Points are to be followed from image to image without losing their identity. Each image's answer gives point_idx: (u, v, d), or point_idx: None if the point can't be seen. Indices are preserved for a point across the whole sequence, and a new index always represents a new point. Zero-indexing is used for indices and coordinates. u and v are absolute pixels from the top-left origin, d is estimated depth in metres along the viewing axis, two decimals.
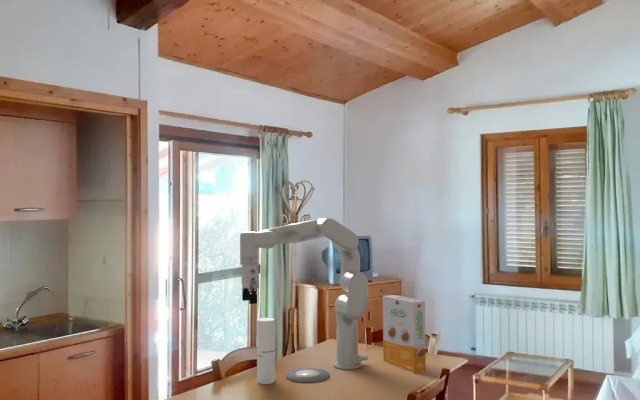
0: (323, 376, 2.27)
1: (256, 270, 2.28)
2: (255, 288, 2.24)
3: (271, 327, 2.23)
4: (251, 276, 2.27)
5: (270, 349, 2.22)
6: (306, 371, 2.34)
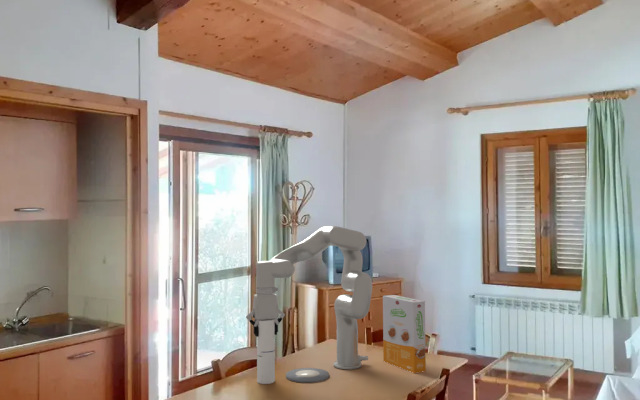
0: (323, 376, 2.27)
1: None
2: None
3: (271, 327, 2.23)
4: None
5: (270, 349, 2.22)
6: (306, 371, 2.34)
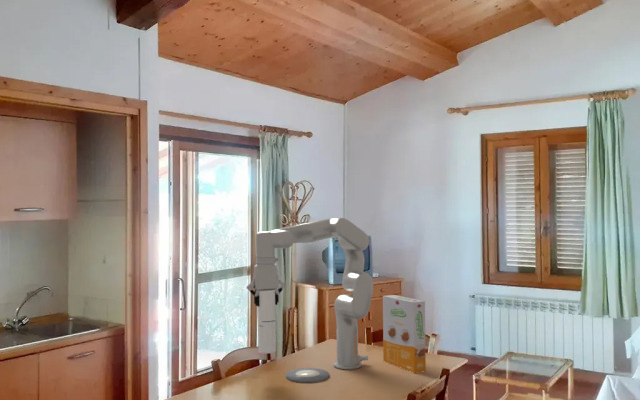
0: (323, 376, 2.27)
1: None
2: None
3: (271, 297, 2.23)
4: None
5: (271, 319, 2.23)
6: (306, 371, 2.34)
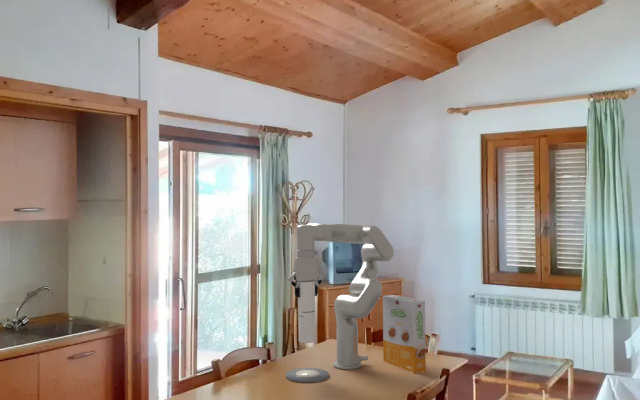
0: (323, 376, 2.27)
1: None
2: None
3: (312, 288, 2.30)
4: None
5: (311, 309, 2.29)
6: (306, 371, 2.34)
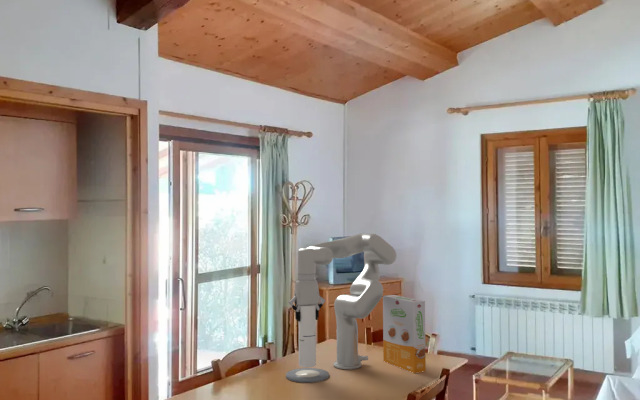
0: (323, 376, 2.27)
1: None
2: None
3: (312, 312, 2.29)
4: None
5: (312, 333, 2.29)
6: (306, 371, 2.34)
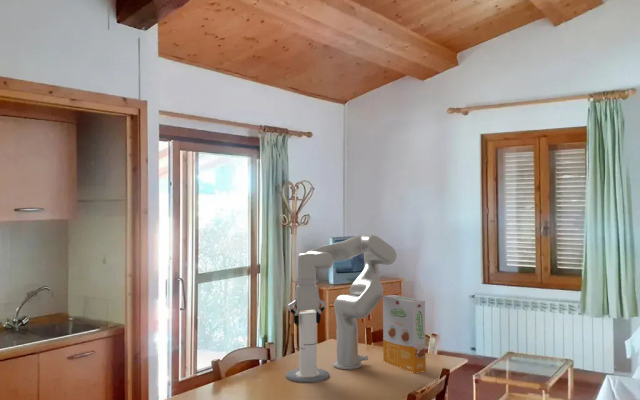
0: (323, 376, 2.27)
1: None
2: None
3: (313, 321, 2.30)
4: None
5: (312, 342, 2.29)
6: None
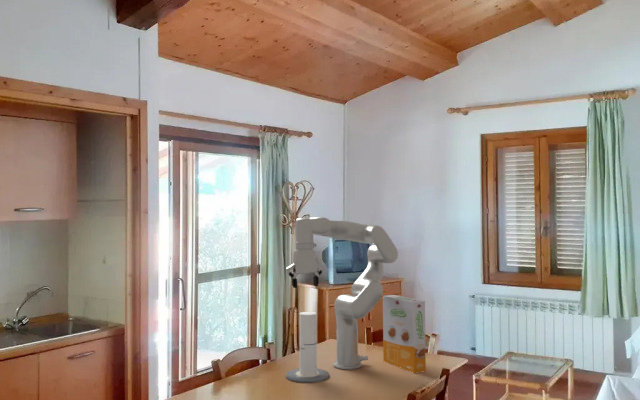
0: (323, 376, 2.27)
1: None
2: None
3: (313, 321, 2.30)
4: None
5: (313, 342, 2.29)
6: None
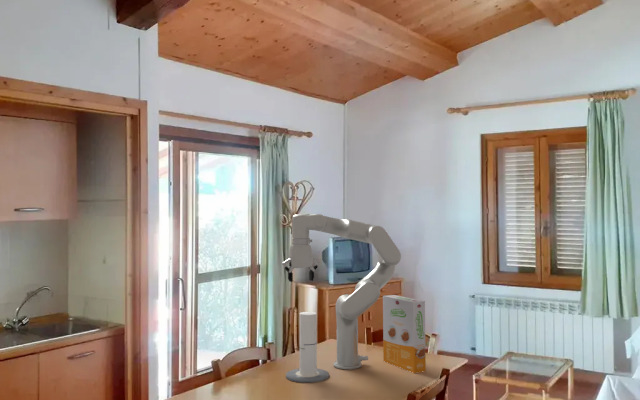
0: (323, 376, 2.27)
1: None
2: None
3: (313, 321, 2.30)
4: None
5: (313, 342, 2.29)
6: None
